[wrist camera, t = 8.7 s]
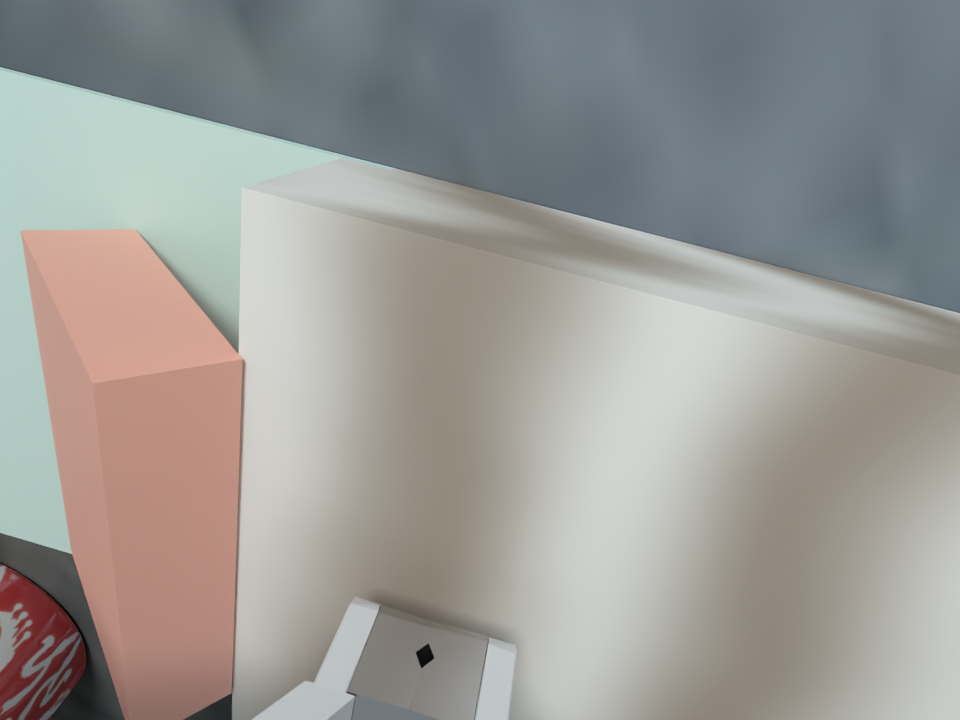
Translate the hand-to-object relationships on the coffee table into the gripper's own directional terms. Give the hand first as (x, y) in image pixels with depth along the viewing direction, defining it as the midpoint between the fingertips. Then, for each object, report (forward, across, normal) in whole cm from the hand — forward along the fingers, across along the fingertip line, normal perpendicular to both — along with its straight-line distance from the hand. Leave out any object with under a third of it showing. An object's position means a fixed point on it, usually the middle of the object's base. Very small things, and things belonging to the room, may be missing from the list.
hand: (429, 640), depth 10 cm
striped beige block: (+5, -6, 0) cm, 8 cm away
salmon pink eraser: (+2, +6, 0) cm, 7 cm away
